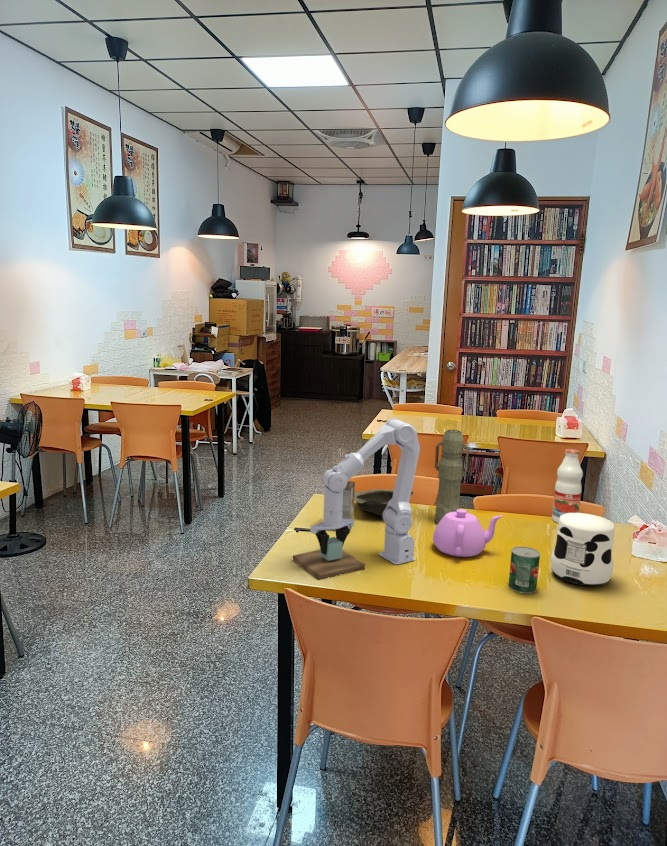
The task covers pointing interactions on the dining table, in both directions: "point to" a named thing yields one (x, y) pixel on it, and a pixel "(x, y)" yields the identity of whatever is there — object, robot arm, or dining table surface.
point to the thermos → (450, 472)
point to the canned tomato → (524, 569)
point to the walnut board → (327, 564)
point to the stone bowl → (374, 500)
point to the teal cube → (333, 549)
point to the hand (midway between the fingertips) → (331, 551)
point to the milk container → (583, 549)
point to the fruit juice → (567, 486)
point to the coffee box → (348, 501)
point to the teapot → (462, 534)
